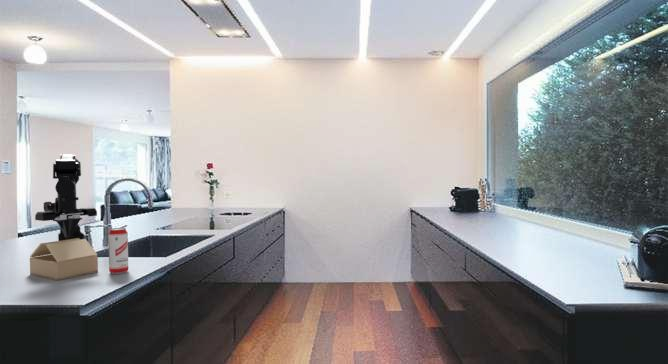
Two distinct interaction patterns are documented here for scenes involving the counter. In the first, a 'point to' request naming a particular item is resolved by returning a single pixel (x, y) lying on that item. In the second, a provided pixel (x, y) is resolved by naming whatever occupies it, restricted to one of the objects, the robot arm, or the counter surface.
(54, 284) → the counter surface
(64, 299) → the counter surface
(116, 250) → the beer can
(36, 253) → the flap
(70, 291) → the counter surface
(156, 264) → the counter surface
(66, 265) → the cardboard box
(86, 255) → the flap
